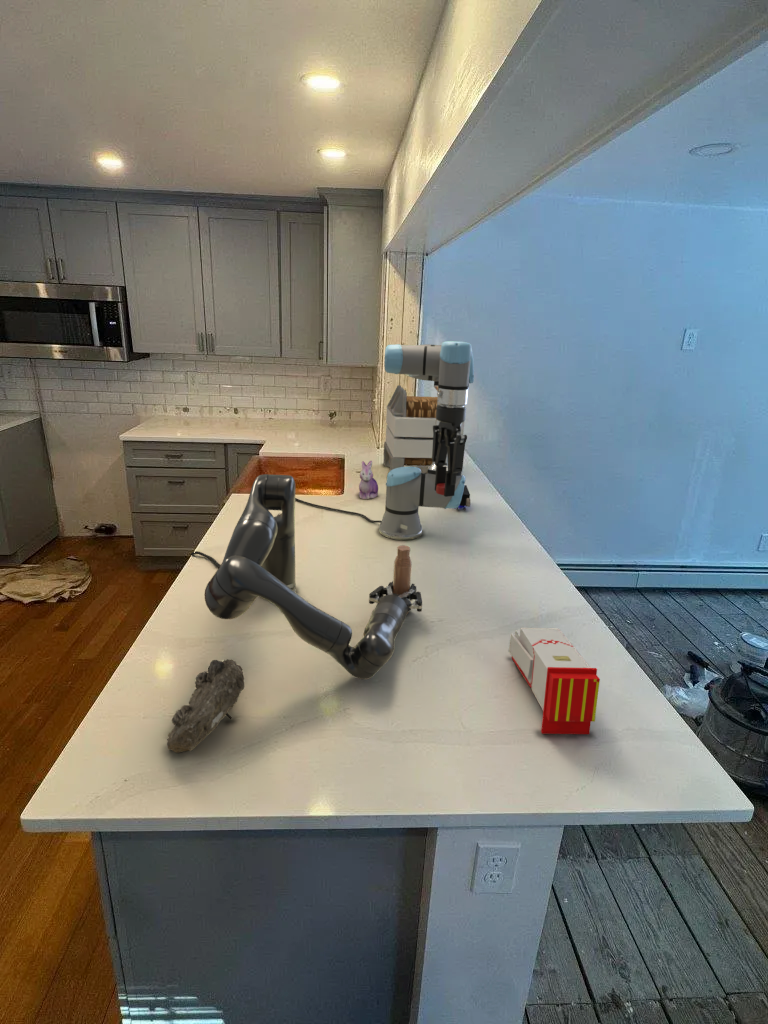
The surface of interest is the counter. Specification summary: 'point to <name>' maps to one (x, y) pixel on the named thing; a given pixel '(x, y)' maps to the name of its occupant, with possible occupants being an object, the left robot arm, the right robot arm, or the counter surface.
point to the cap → (440, 488)
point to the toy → (557, 679)
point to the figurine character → (465, 499)
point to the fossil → (206, 705)
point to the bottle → (402, 570)
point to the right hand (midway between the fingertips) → (444, 492)
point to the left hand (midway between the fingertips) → (403, 585)
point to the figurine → (367, 482)
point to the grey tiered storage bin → (409, 430)
